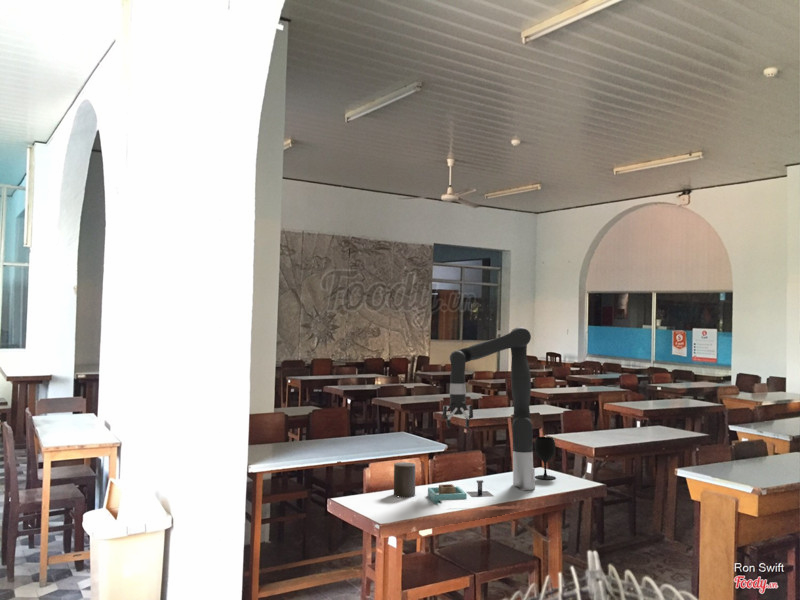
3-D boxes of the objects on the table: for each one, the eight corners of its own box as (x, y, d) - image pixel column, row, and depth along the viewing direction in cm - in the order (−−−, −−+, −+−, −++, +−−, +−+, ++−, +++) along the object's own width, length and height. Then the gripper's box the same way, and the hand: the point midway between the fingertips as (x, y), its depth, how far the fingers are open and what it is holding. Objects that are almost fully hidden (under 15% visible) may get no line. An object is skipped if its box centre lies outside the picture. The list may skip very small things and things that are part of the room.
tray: (458, 494, 286) (458, 486, 287) (466, 502, 273) (466, 493, 273) (427, 495, 284) (427, 487, 284) (434, 503, 270) (434, 495, 271)
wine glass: (560, 478, 319) (559, 438, 321) (544, 481, 314) (544, 440, 316) (545, 475, 328) (545, 435, 330) (530, 477, 323) (530, 437, 324)
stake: (487, 494, 287) (487, 477, 287) (494, 499, 277) (494, 482, 277) (466, 495, 285) (465, 478, 285) (472, 500, 275) (472, 483, 276)
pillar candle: (395, 498, 280) (396, 463, 281) (391, 492, 289) (392, 459, 290) (417, 497, 282) (417, 462, 283) (412, 492, 291) (413, 458, 292)
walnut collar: (452, 494, 282) (451, 484, 282) (455, 497, 276) (455, 487, 276) (438, 495, 281) (438, 484, 281) (441, 498, 275) (441, 487, 275)
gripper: (470, 392, 307) (470, 426, 305) (441, 392, 304) (441, 426, 303) (474, 393, 299) (474, 428, 298) (444, 393, 297) (445, 429, 296)
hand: (457, 427), depth 301 cm, fingers open, 8 cm apart
